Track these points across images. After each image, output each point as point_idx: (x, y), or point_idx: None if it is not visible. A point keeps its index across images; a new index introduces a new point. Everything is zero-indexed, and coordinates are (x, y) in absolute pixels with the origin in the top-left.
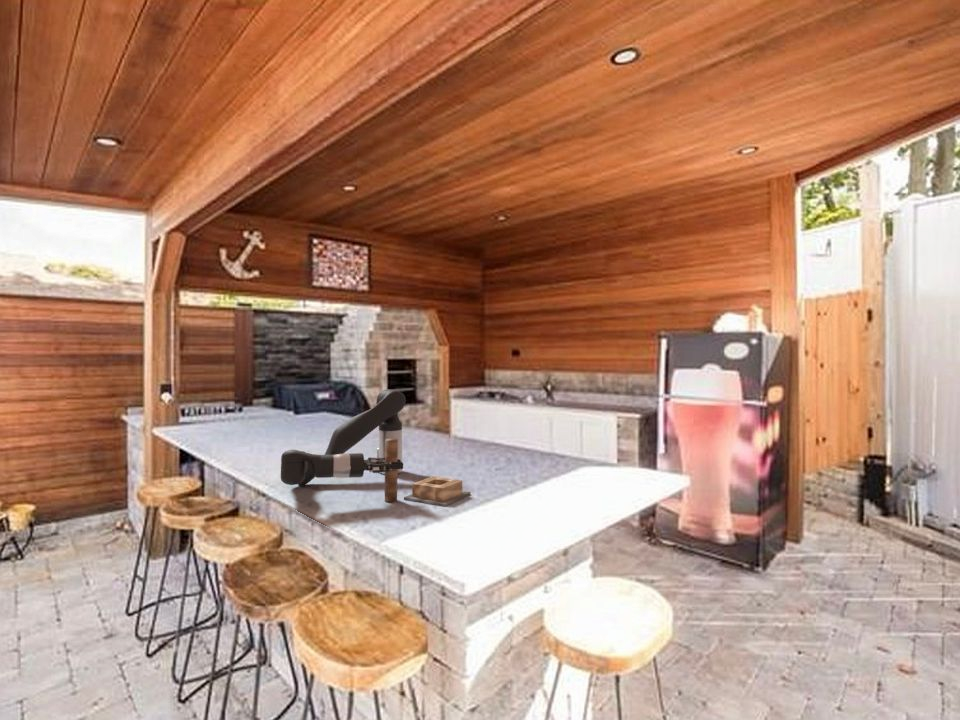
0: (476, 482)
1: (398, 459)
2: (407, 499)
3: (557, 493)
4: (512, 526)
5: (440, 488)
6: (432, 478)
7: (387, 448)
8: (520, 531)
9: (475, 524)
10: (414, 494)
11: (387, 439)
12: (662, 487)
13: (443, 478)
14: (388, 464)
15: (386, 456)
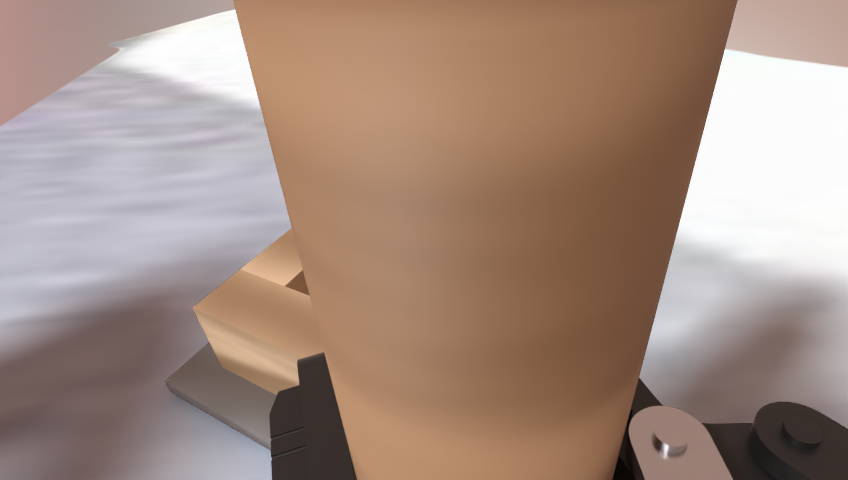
0: (140, 225)
1: (316, 368)
2: None
3: None
4: (752, 119)
5: None
6: (258, 301)
7: (666, 267)
8: (791, 106)
9: (795, 183)
10: None
11: (454, 5)
12: None
13: (279, 251)
14: (838, 436)
15: (608, 459)
